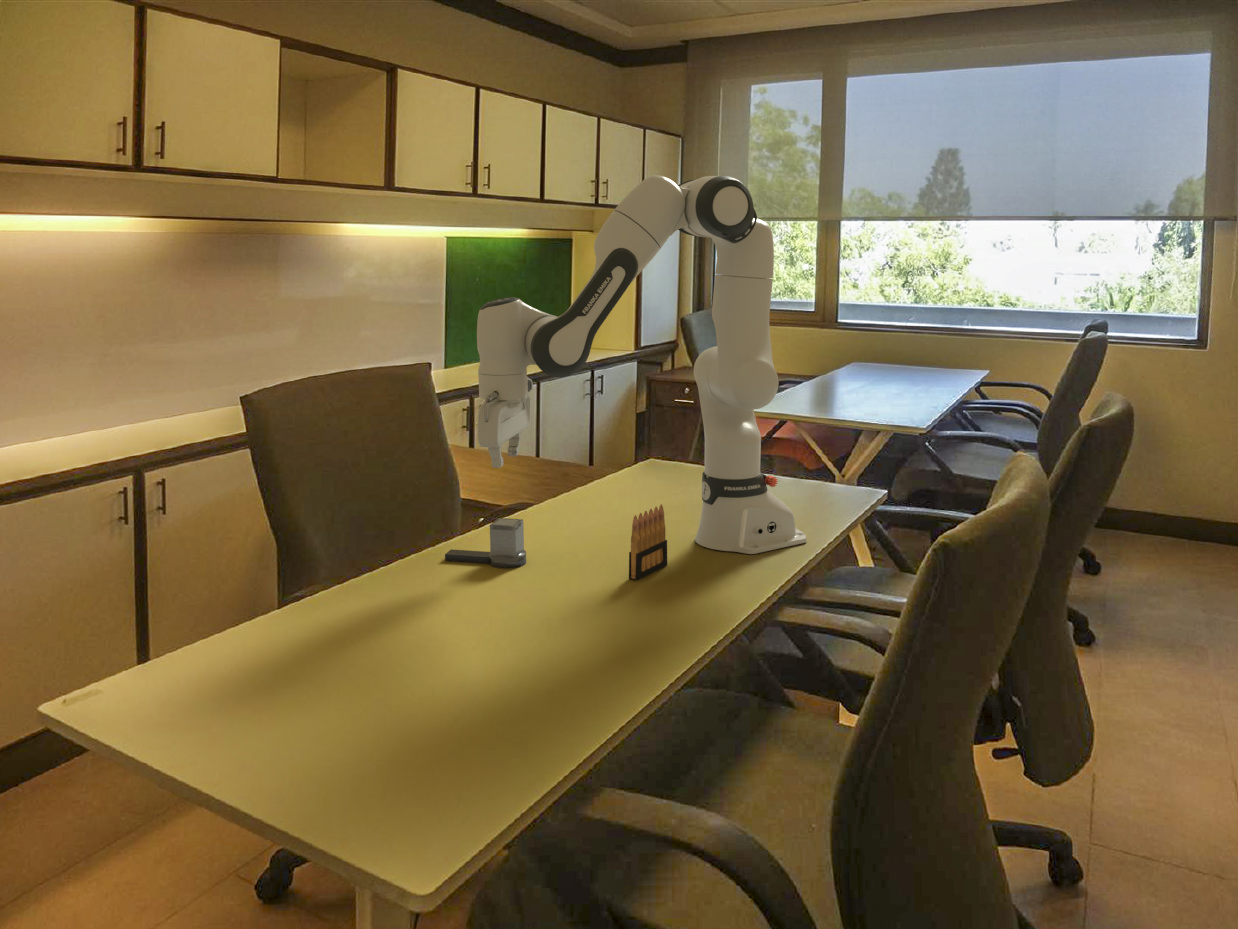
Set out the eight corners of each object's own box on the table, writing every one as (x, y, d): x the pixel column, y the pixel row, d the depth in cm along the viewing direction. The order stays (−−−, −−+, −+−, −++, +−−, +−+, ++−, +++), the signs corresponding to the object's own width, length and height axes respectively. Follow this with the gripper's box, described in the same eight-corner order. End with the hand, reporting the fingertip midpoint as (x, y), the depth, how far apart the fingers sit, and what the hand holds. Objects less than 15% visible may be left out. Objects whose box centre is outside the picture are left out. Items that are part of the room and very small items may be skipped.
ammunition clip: (636, 581, 193) (636, 517, 191) (628, 579, 194) (628, 515, 192) (667, 565, 202) (668, 504, 199) (659, 563, 203) (659, 502, 200)
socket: (523, 549, 205) (523, 519, 204) (516, 557, 201) (515, 526, 199) (499, 547, 206) (498, 517, 205) (490, 555, 202) (489, 525, 200)
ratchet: (530, 558, 207) (530, 532, 205) (520, 569, 200) (519, 543, 199) (454, 553, 210) (453, 527, 209) (441, 564, 203) (440, 538, 202)
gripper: (501, 397, 186) (504, 475, 189) (535, 379, 205) (537, 450, 208) (467, 396, 187) (470, 473, 190) (503, 379, 207) (506, 449, 210)
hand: (505, 461), depth 200 cm, fingers open, 8 cm apart
